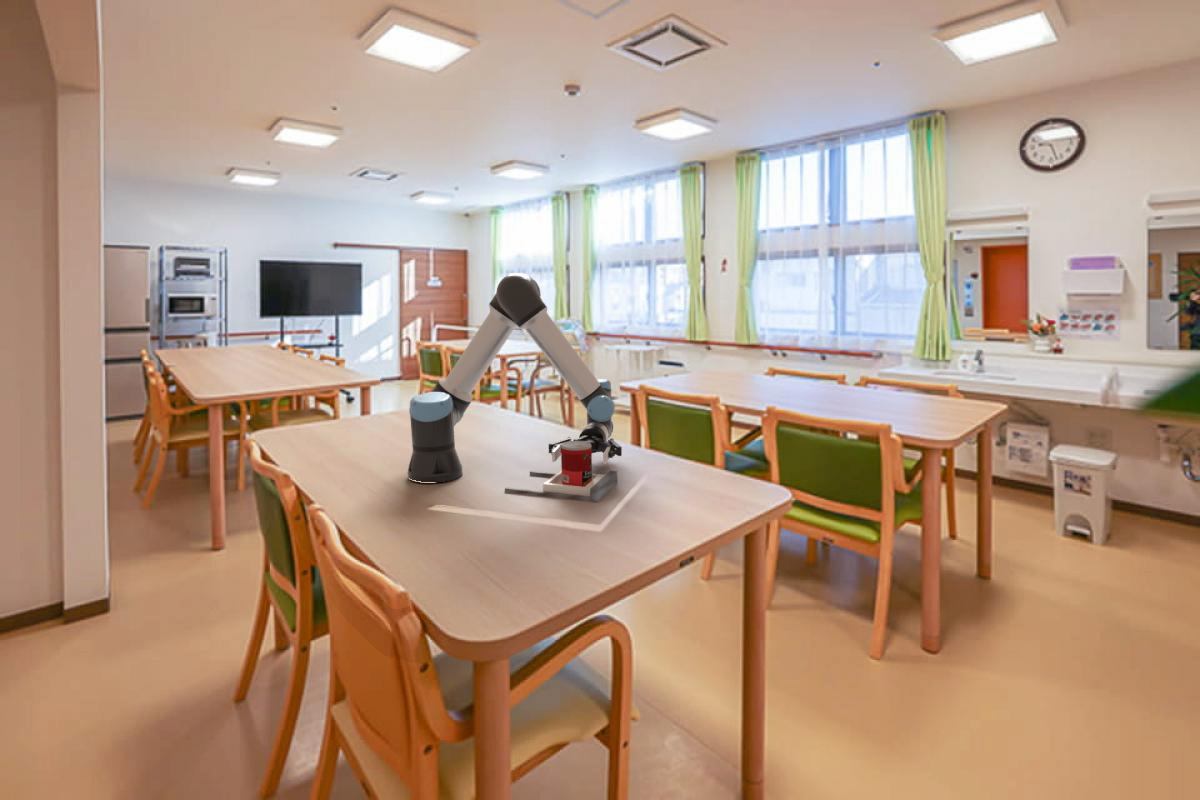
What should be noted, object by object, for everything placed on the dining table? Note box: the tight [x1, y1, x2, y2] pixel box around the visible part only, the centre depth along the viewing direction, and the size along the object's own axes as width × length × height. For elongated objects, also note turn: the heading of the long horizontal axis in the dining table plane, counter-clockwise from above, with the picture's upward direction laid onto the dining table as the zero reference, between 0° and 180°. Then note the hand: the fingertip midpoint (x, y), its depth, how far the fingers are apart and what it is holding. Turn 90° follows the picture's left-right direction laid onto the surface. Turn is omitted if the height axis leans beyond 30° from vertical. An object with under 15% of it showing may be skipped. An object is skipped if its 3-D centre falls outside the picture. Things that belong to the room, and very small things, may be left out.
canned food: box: [560, 441, 593, 487], centre depth 158 cm, size 8×8×11 cm
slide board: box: [504, 470, 618, 503], centre depth 160 cm, size 27×16×4 cm, turn 71°
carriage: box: [542, 470, 606, 496], centre depth 159 cm, size 14×12×2 cm
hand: (578, 457), depth 158 cm, fingers open, 13 cm apart
